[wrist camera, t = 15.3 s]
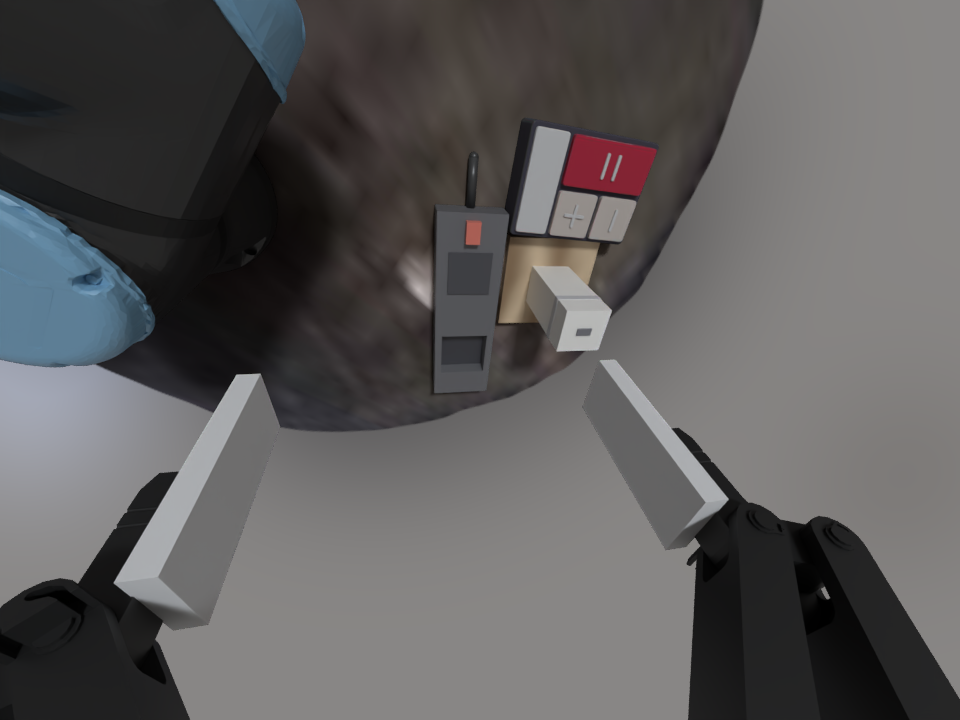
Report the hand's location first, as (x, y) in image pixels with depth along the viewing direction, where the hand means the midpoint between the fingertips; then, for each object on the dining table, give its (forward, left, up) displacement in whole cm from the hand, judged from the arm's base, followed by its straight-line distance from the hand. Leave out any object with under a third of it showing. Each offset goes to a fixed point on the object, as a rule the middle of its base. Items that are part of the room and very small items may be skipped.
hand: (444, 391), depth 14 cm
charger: (+17, -9, -30) cm, 36 cm away
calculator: (+18, +3, -32) cm, 37 cm away
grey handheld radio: (+6, -10, -32) cm, 34 cm away
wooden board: (+17, -9, -32) cm, 37 cm away
